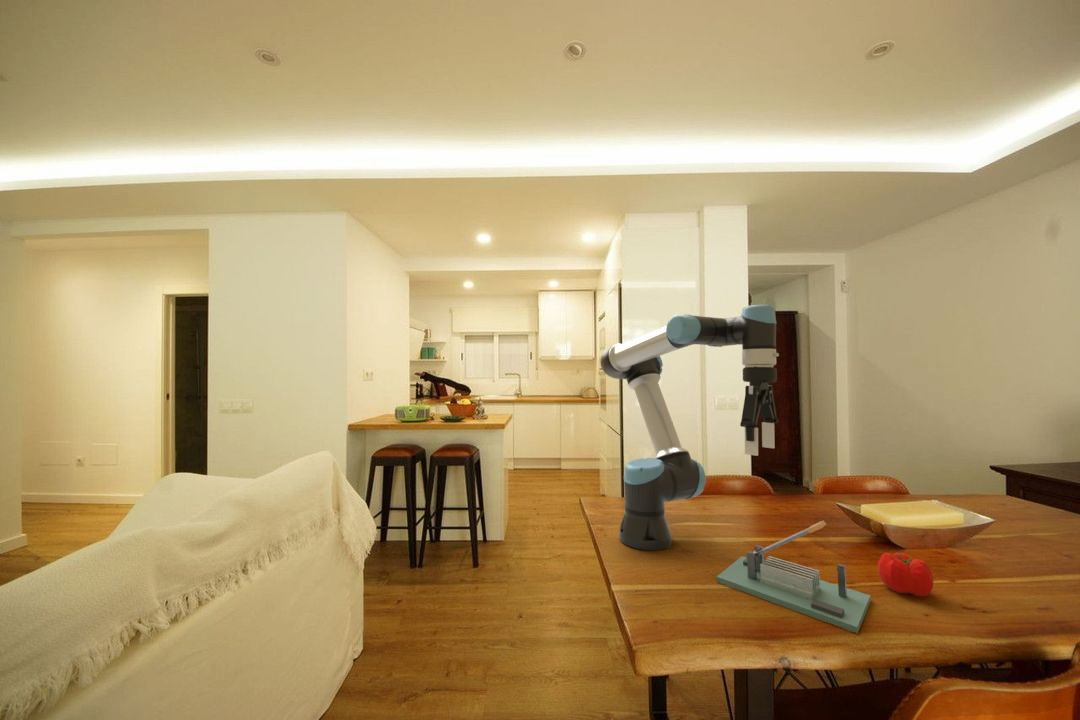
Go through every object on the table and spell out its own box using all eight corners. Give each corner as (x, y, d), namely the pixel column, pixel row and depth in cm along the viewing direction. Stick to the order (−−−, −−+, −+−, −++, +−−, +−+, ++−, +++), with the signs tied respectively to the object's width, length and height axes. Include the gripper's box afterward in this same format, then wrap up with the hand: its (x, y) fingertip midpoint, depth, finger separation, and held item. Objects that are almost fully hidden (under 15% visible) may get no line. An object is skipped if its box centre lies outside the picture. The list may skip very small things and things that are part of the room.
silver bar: (747, 578, 91) (746, 550, 91) (758, 567, 96) (757, 541, 96) (839, 609, 78) (838, 577, 78) (846, 595, 83) (845, 565, 83)
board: (716, 581, 91) (716, 573, 91) (742, 560, 102) (742, 552, 102) (857, 633, 72) (857, 622, 72) (870, 601, 83) (870, 591, 83)
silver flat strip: (752, 560, 92) (748, 554, 92) (757, 556, 94) (753, 550, 94) (823, 528, 82) (818, 522, 82) (827, 525, 84) (822, 518, 85)
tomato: (869, 581, 92) (868, 548, 92) (908, 581, 91) (906, 549, 92) (905, 603, 82) (903, 567, 83) (948, 604, 82) (946, 567, 82)
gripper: (760, 365, 86) (761, 460, 85) (789, 367, 104) (790, 446, 103) (725, 365, 92) (726, 455, 91) (758, 367, 109) (759, 443, 108)
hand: (760, 451), depth 97 cm, fingers open, 13 cm apart
